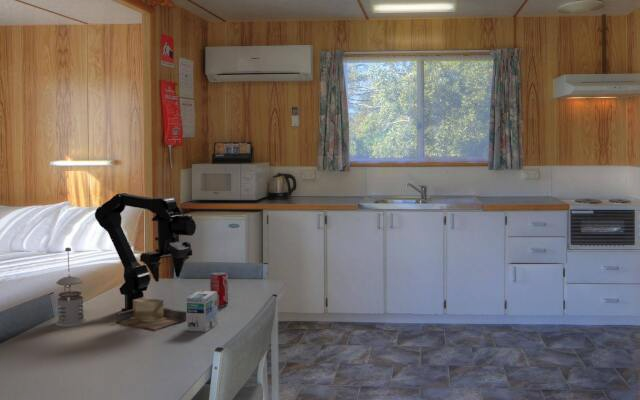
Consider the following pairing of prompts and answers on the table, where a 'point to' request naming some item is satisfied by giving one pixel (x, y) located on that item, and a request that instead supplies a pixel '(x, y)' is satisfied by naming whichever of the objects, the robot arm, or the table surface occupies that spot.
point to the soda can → (220, 287)
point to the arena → (169, 319)
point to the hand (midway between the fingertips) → (167, 279)
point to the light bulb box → (202, 311)
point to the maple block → (148, 309)
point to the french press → (70, 302)
